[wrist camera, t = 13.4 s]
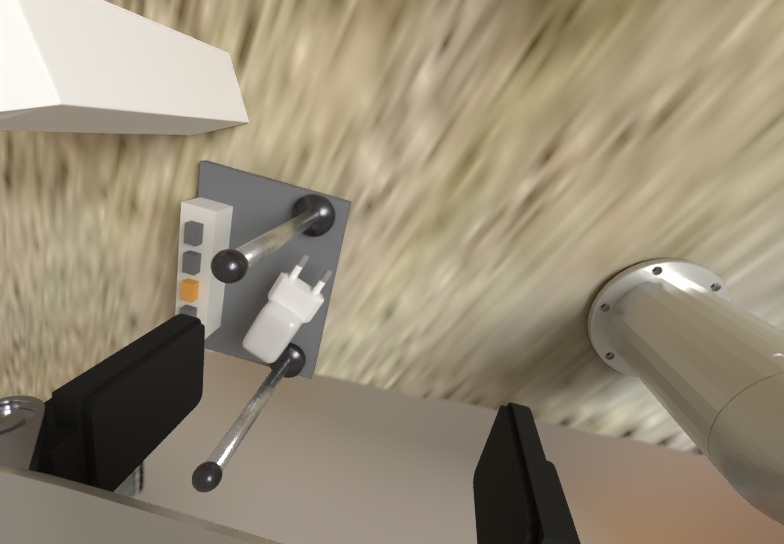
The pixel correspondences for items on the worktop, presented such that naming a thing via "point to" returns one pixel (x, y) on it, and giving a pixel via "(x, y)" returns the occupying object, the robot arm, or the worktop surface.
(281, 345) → the power adapter
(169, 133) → the milk
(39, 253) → the worktop surface
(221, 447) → the cord post
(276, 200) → the mat
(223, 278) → the cord post
